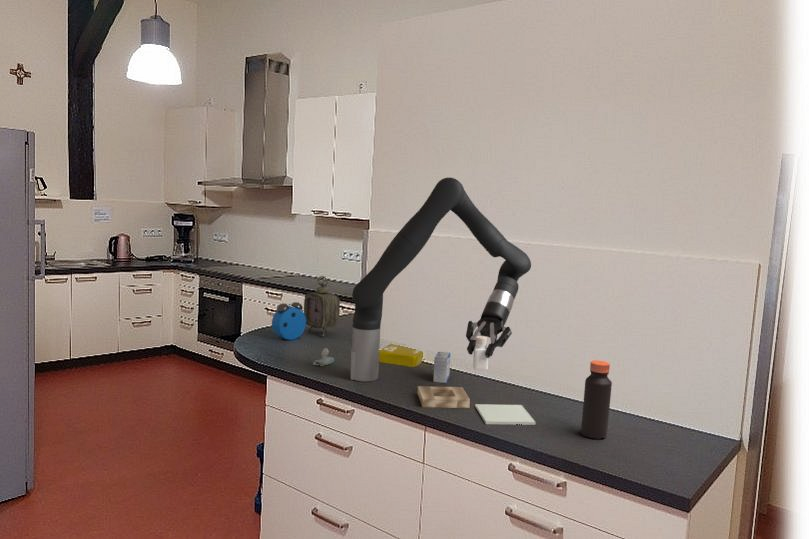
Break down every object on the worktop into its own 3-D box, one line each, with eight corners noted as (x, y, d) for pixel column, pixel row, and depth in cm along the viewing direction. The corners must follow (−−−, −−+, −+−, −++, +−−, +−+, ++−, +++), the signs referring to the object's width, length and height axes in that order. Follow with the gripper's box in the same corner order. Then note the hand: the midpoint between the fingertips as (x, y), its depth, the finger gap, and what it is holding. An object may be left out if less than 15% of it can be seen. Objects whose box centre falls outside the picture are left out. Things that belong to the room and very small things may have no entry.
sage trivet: (485, 424, 176) (486, 421, 176) (475, 406, 190) (475, 404, 190) (535, 424, 177) (535, 422, 177) (521, 407, 191) (521, 404, 191)
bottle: (592, 441, 168) (598, 367, 165) (575, 431, 174) (581, 360, 171) (612, 438, 170) (619, 365, 168) (595, 429, 176) (601, 358, 174)
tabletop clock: (303, 332, 275) (304, 274, 272) (320, 329, 281) (322, 273, 278) (322, 338, 264) (324, 279, 261) (340, 336, 270) (342, 277, 267)
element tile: (414, 368, 229) (415, 355, 229) (376, 362, 234) (376, 349, 234) (427, 358, 243) (428, 346, 243) (390, 353, 248) (391, 341, 248)
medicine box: (446, 383, 212) (447, 358, 210) (432, 382, 212) (434, 356, 211) (449, 377, 219) (450, 352, 218) (436, 375, 220) (437, 351, 219)
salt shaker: (472, 366, 189) (474, 335, 188) (486, 367, 189) (487, 335, 188) (474, 370, 185) (475, 338, 184) (487, 370, 185) (489, 338, 184)
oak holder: (422, 407, 187) (422, 399, 187) (417, 394, 199) (418, 386, 199) (469, 407, 189) (469, 399, 188) (461, 394, 200) (462, 387, 200)
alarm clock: (298, 335, 268) (299, 300, 266) (306, 338, 264) (307, 302, 262) (270, 339, 259) (271, 302, 257) (279, 342, 255) (279, 305, 253)
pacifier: (309, 365, 226) (321, 368, 222) (309, 347, 225) (321, 350, 221) (324, 361, 232) (335, 364, 228) (324, 344, 231) (336, 347, 227)
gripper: (473, 297, 195) (452, 343, 186) (516, 303, 187) (497, 351, 179) (480, 312, 200) (460, 357, 192) (523, 318, 192) (504, 366, 184)
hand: (478, 354), depth 185 cm, fingers closed on salt shaker, 5 cm apart
